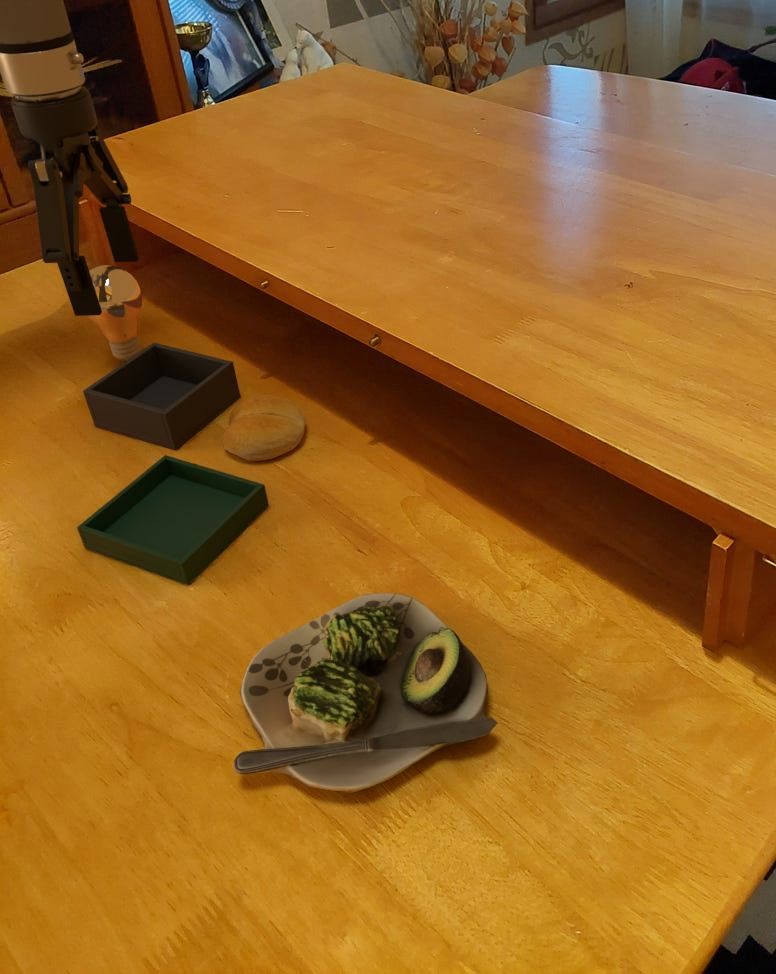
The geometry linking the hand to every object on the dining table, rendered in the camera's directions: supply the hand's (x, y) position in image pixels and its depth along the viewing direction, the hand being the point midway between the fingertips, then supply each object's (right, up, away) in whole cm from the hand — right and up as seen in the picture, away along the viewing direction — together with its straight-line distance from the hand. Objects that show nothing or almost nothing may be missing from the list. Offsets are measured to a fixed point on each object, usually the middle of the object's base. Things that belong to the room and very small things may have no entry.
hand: (109, 286), depth 106 cm
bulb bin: (+8, -15, -3) cm, 17 cm away
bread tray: (+14, -27, -19) cm, 35 cm away
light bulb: (0, -8, +6) cm, 10 cm away
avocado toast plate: (+34, -39, -35) cm, 63 cm away
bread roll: (+20, -18, -7) cm, 28 cm away
